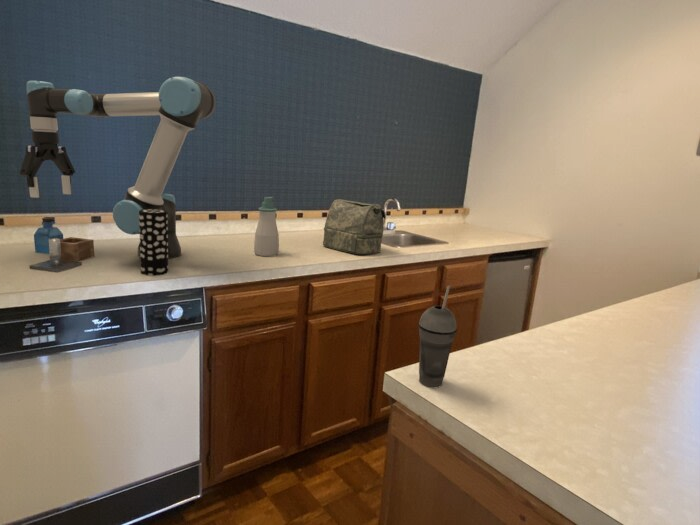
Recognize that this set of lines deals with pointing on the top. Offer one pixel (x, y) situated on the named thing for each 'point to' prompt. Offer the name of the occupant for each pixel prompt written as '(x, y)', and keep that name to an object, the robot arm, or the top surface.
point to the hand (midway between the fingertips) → (51, 195)
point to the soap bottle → (267, 230)
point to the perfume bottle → (46, 236)
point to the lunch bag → (354, 227)
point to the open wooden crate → (76, 248)
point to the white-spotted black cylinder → (153, 241)
